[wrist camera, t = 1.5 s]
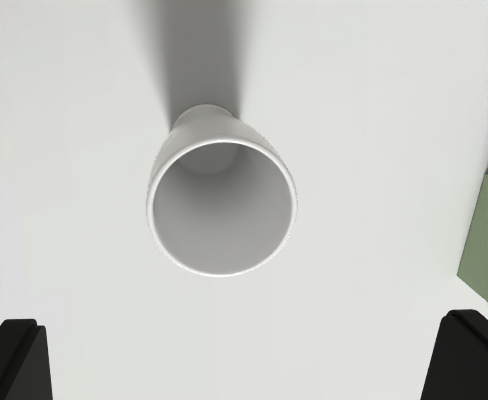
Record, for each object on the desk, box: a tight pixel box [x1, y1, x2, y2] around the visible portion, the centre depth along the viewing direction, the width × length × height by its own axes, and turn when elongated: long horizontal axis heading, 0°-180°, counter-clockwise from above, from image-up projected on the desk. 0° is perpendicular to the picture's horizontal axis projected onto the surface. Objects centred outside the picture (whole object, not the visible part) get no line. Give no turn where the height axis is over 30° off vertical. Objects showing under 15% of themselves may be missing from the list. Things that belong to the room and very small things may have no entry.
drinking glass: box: [146, 104, 298, 277], centre depth 25 cm, size 7×7×15 cm
